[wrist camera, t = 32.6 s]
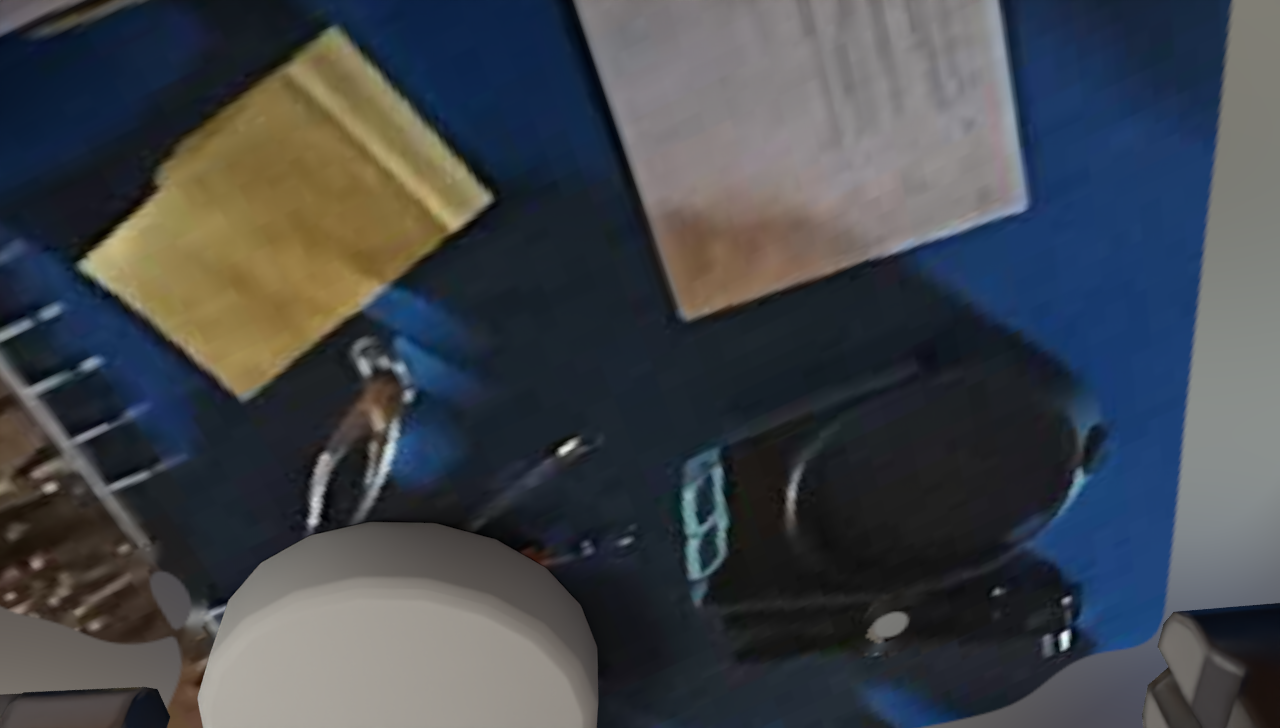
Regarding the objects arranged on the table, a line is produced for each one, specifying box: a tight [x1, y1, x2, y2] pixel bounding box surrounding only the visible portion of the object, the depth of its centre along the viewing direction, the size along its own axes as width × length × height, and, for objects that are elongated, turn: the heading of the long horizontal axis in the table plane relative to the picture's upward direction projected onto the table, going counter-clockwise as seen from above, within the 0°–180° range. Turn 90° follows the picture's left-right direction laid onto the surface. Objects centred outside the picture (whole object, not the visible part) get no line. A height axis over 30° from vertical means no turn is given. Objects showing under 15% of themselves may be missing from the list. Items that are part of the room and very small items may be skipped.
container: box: [198, 522, 598, 728], centre depth 62 cm, size 20×20×5 cm
